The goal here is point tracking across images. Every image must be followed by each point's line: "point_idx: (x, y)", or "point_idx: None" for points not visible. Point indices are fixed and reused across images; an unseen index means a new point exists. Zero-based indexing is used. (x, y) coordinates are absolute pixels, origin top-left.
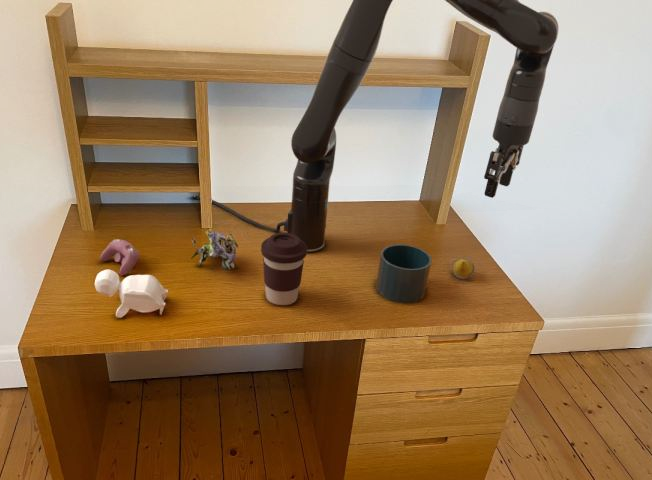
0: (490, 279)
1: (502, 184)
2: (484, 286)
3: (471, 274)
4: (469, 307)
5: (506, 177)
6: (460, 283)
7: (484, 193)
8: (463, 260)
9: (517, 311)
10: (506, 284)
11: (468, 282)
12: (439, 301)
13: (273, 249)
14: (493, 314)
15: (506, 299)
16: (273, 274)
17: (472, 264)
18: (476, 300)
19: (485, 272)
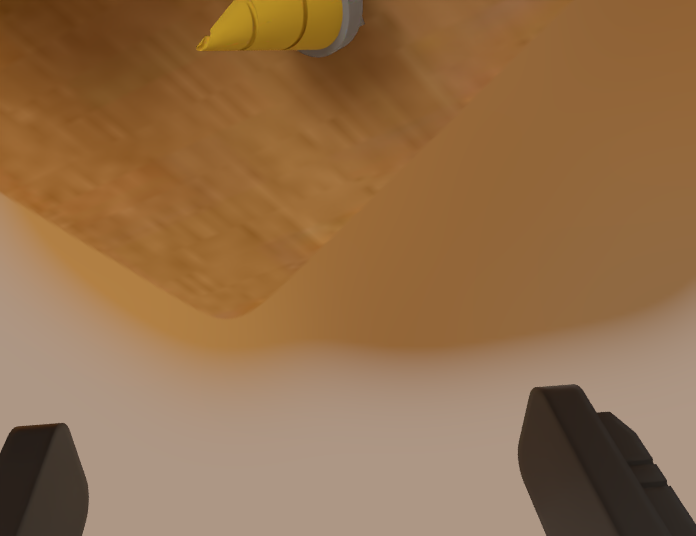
0: (381, 110)
1: (532, 416)
2: (304, 115)
3: (301, 51)
4: (93, 140)
5: (565, 526)
6: None
7: (10, 434)
8: (248, 24)
9: (230, 277)
10: (388, 176)
11: None
12: (7, 12)
13: None
14: (135, 228)
15: (277, 220)
16: None
17: (337, 40)
18: (169, 138)
19: (427, 65)
